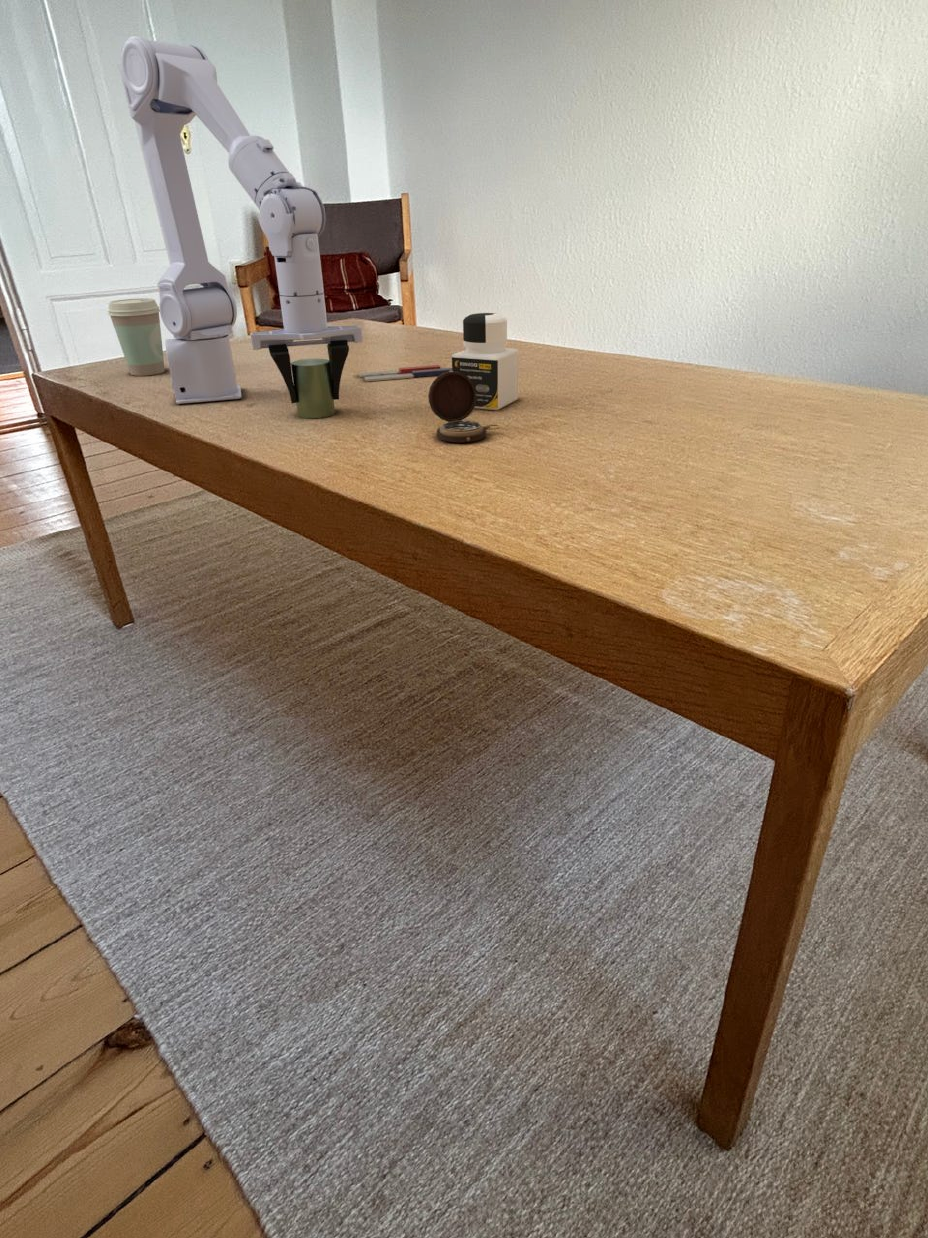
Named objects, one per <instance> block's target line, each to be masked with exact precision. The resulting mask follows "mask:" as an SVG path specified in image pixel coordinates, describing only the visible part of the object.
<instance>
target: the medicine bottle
mask: <svg viewBox="0 0 928 1238" xmlns="http://www.w3.org/2000/svg"><path fill="white" fill-rule="evenodd" d="M462 336H463V338H462V339H463V341H462V342H463V347H465V349H464V350H462V351H459V352H455V353H453V354H452V355H451V368H452V370H453V371H455V372H460V373H462V374H465V375H466V376H467V377H469V378H470V379H471V381H472V382H473V384H474V385H475V388H476V392H477V393H476V397H477V400H476V405H475V407H474V409H477V410H489V411H499V410H501V409H503V408H504V407H507V406H508V405H510V404H512V403H514V402H516V401H517V400H518V399H519V350H518V348H511V347H506V346H508V318H507V317H506V316H505V315H503V314H501V313H496V312H478V313H470V314H469V315H467V316H466V317H464V318H463V320H462Z"/></svg>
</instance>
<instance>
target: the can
mask: <svg viewBox="0 0 928 1238" xmlns="http://www.w3.org/2000/svg"><path fill="white" fill-rule="evenodd" d="M290 363H291V371H292V379H293V384H294V388H295V393H296V399H297V403H295V404H296V411H297V417H300V418H302V419H303V418H304V419H322V418H323V419H324V418H327V417H328V418H329V417H331V416H333V415H335V413H336V407H335V400H334V397H333V387H332V378H331V369H330V361H329V359H327V358H302V359H296V360H294V361H292V362H290Z"/></svg>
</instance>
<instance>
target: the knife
mask: <svg viewBox="0 0 928 1238" xmlns="http://www.w3.org/2000/svg"><path fill="white" fill-rule="evenodd" d="M450 370H452V367H446V368H445V367H443V368H442V367H441V368H440V369H430V370H418V371H412V373H409V374H400V373H398V374H397V375H385V376H373V377H364V380H365V382H366V383H368V382H378V381H379V382H381V381H392V380H403V379H414V378H425V377H438V376H439V375H441V374H443V373H445V372H449V371H450Z"/></svg>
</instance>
